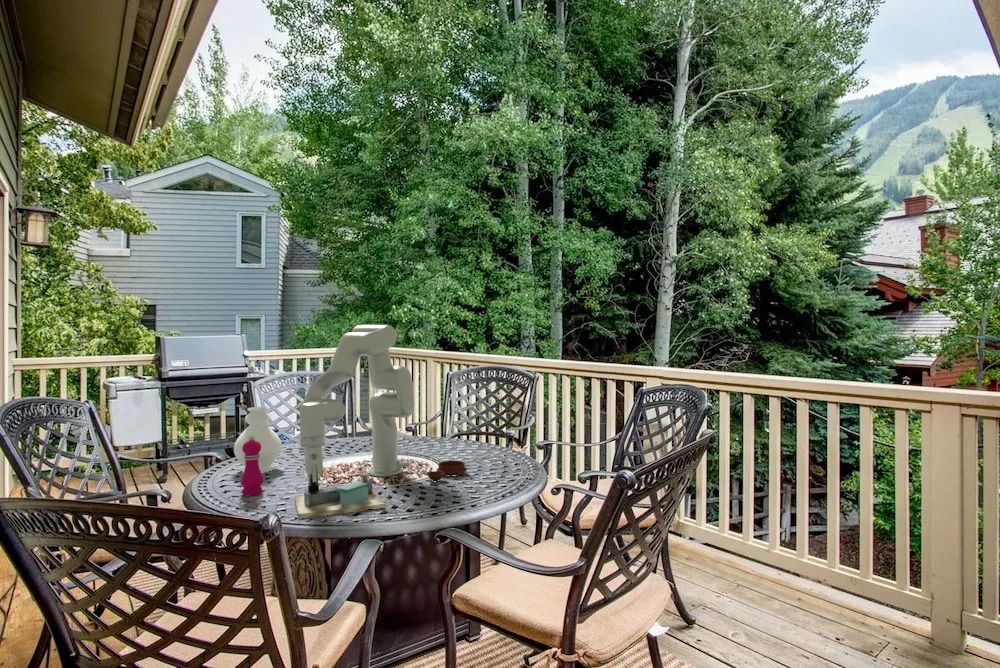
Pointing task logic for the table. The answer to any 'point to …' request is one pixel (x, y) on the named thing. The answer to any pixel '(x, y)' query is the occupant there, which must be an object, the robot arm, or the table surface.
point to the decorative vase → (259, 439)
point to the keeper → (353, 493)
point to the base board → (338, 505)
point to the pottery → (447, 469)
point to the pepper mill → (251, 468)
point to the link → (327, 495)
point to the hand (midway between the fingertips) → (313, 497)
